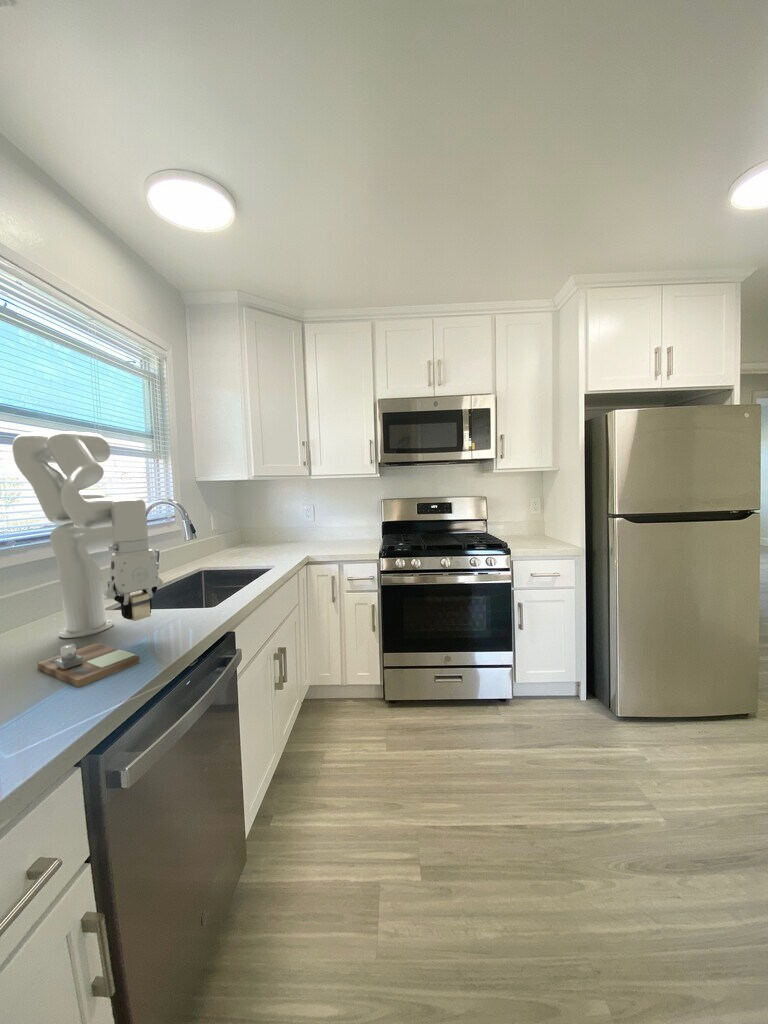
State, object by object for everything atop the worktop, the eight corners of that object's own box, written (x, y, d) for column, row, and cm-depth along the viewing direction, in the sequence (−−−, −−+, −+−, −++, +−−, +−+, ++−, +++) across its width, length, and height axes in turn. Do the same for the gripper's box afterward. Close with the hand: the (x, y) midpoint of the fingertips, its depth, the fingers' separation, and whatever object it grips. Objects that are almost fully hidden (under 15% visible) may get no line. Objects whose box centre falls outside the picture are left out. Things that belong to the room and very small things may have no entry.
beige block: (124, 618, 104) (122, 595, 103) (140, 613, 107) (138, 591, 107) (134, 621, 101) (132, 598, 101) (151, 616, 105) (149, 593, 104)
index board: (37, 669, 90) (36, 662, 90) (97, 648, 101) (96, 642, 101) (78, 687, 80) (77, 680, 80) (139, 662, 90) (139, 655, 90)
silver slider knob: (56, 666, 87) (53, 647, 86) (75, 659, 90) (73, 641, 89) (64, 669, 85) (61, 651, 84) (83, 662, 88) (81, 644, 87)
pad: (86, 662, 89) (86, 661, 89) (120, 650, 95) (119, 649, 95) (101, 668, 85) (101, 667, 85) (135, 655, 91) (135, 654, 91)
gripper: (102, 553, 94) (109, 629, 95) (171, 542, 108) (176, 608, 110) (87, 551, 97) (94, 623, 99) (156, 540, 112) (161, 604, 113)
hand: (137, 614), depth 104 cm, fingers closed on beige block, 4 cm apart
